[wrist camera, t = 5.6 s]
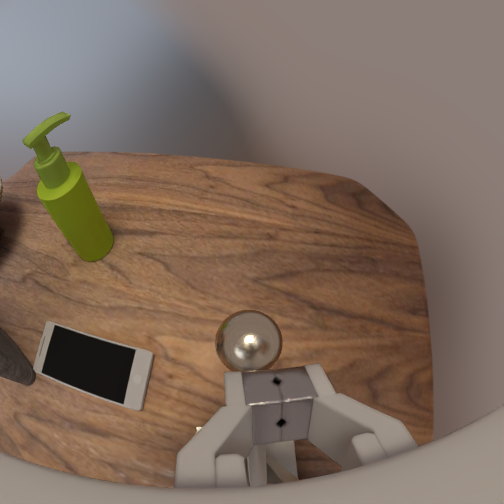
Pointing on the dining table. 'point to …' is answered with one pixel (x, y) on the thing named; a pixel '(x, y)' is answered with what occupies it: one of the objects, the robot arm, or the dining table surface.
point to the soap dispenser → (68, 195)
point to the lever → (250, 364)
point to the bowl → (1, 189)
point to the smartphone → (94, 365)
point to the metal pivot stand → (278, 462)
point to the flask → (14, 362)
